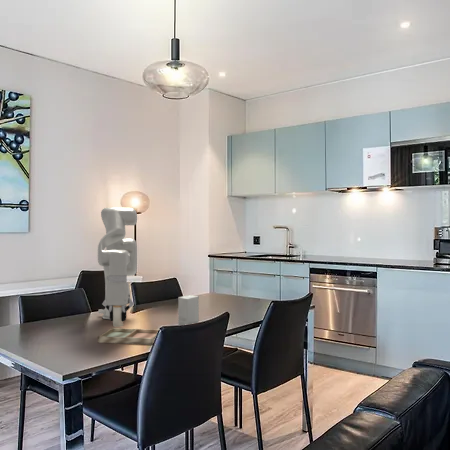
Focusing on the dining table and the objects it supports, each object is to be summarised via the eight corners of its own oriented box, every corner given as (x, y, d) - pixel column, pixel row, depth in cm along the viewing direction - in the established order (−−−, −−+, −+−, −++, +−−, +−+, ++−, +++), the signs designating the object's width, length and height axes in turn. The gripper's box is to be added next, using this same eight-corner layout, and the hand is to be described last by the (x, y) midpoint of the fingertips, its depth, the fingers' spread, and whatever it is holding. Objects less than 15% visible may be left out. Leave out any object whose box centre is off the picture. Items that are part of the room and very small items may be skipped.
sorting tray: (97, 342, 196) (97, 336, 196) (111, 333, 212) (111, 328, 212) (152, 344, 193) (152, 338, 193) (162, 335, 209) (162, 329, 209)
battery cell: (111, 326, 201) (111, 301, 201) (115, 324, 205) (115, 300, 205) (121, 326, 200) (121, 302, 200) (124, 324, 205) (124, 300, 205)
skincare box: (189, 326, 227) (189, 294, 226) (199, 328, 222) (199, 296, 222) (177, 329, 220) (177, 296, 220) (187, 331, 216) (187, 298, 216)
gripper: (96, 279, 200) (96, 321, 200) (133, 280, 198) (133, 323, 198) (103, 277, 208) (103, 318, 208) (139, 278, 205) (139, 319, 205)
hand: (118, 320), depth 203 cm, fingers closed on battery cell, 4 cm apart
